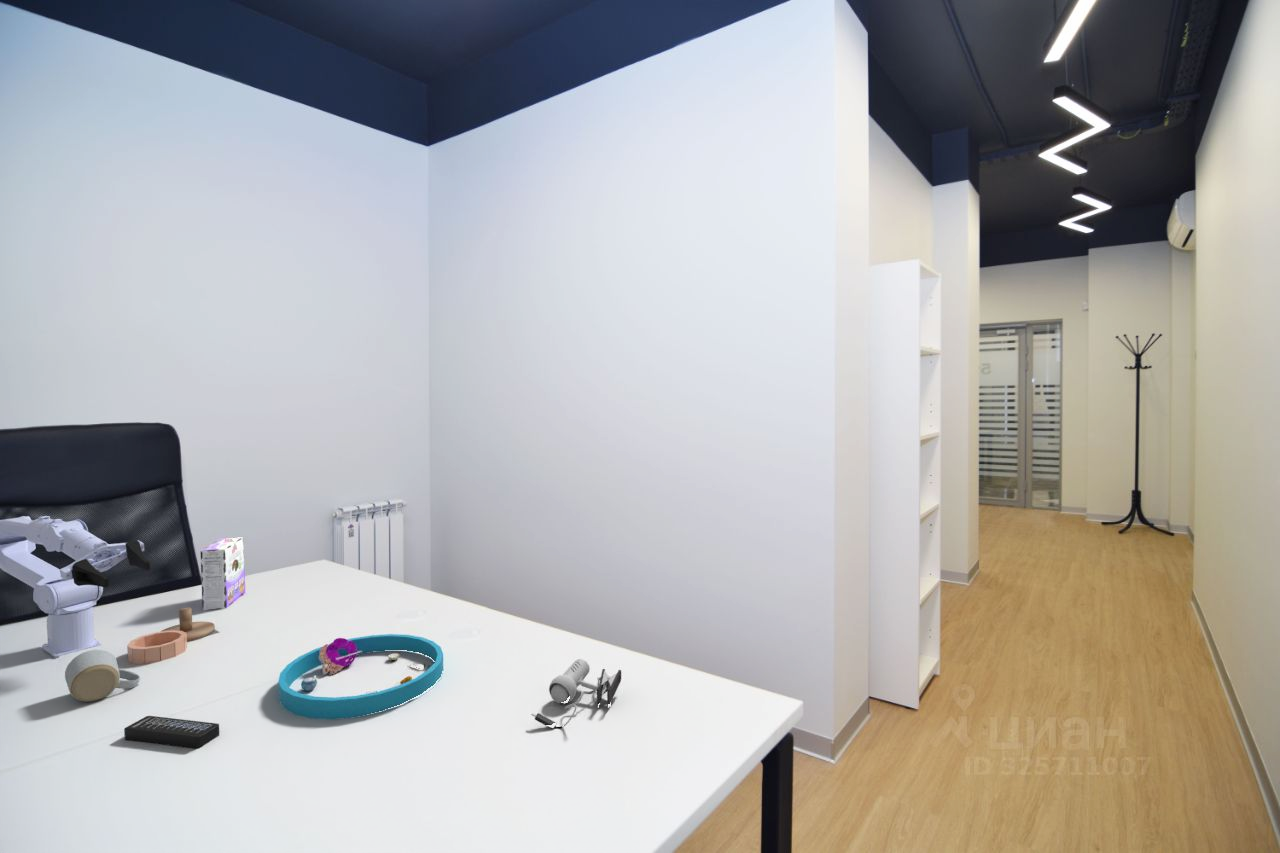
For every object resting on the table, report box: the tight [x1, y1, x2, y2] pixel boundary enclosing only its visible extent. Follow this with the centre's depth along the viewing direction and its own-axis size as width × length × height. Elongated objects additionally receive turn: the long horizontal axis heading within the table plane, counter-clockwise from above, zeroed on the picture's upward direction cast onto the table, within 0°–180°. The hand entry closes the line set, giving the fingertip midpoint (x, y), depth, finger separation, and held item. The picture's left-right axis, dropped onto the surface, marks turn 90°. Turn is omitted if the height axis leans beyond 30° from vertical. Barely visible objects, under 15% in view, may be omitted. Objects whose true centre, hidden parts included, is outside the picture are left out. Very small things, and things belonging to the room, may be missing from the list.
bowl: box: [126, 630, 188, 665], centre depth 137 cm, size 10×10×4 cm
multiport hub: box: [123, 715, 220, 750], centre depth 105 cm, size 4×14×2 cm, turn 80°
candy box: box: [199, 536, 246, 611], centre depth 170 cm, size 14×6×16 cm, turn 14°
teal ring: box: [277, 633, 444, 720], centre depth 126 cm, size 30×30×6 cm
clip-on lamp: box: [531, 658, 622, 727], centre depth 115 cm, size 12×6×18 cm
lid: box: [159, 607, 216, 643], centre depth 147 cm, size 11×11×6 cm
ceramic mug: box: [64, 649, 141, 703], centre depth 120 cm, size 11×8×8 cm
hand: (127, 574), depth 132 cm, fingers open, 7 cm apart
